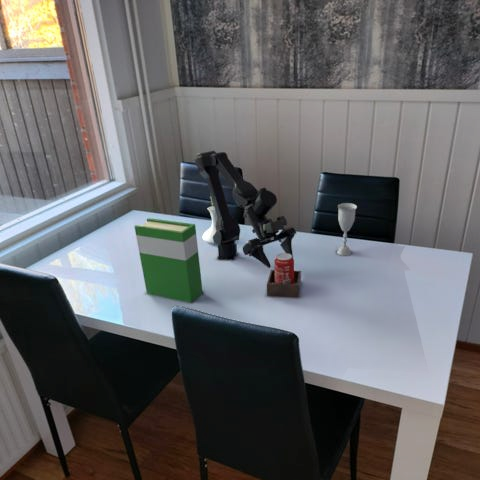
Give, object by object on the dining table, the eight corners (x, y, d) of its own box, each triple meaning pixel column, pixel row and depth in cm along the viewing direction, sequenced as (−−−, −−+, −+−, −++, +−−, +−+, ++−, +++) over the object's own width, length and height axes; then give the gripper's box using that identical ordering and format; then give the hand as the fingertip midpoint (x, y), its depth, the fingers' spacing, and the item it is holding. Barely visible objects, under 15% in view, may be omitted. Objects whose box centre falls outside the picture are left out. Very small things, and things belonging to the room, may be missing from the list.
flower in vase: (229, 245, 189) (225, 183, 176) (201, 246, 190) (195, 184, 176) (230, 233, 200) (226, 174, 187) (204, 234, 201) (198, 175, 187)
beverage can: (293, 284, 158) (294, 252, 151) (293, 293, 152) (294, 260, 146) (275, 284, 158) (274, 252, 152) (274, 293, 153) (273, 260, 147)
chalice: (332, 249, 180) (335, 203, 170) (350, 248, 180) (353, 202, 171) (337, 257, 174) (340, 210, 164) (355, 255, 174) (359, 208, 164)
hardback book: (146, 293, 158) (134, 226, 145) (159, 283, 164) (148, 218, 151) (191, 302, 151) (182, 232, 138) (202, 292, 157) (195, 224, 144)
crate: (267, 296, 152) (266, 283, 150) (271, 281, 161) (270, 269, 158) (298, 297, 150) (298, 285, 148) (300, 282, 159) (301, 270, 156)
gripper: (245, 216, 142) (268, 261, 140) (292, 202, 151) (315, 244, 149) (233, 233, 152) (254, 275, 150) (278, 219, 161) (298, 259, 159)
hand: (281, 263), depth 152 cm, fingers open, 9 cm apart
